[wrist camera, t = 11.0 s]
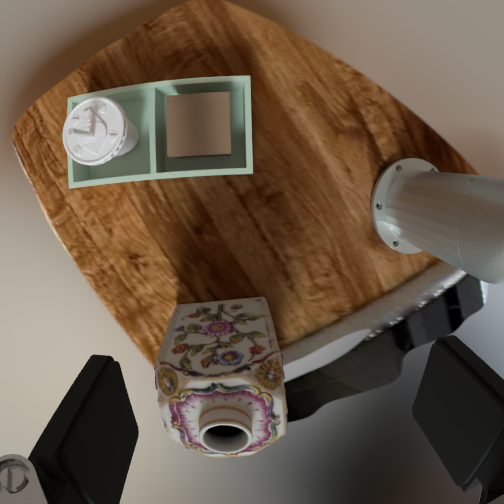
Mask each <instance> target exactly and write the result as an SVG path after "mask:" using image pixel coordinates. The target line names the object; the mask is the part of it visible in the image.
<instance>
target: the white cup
mask: <svg viewBox="0 0 504 504" xmlns="http://www.w3.org/2000/svg"><path fill="white" fill-rule="evenodd" d="M139 139H140V134H139V131H138V129H137V128H136V126H135V125H134V124H133V123H132V122H131V121H130V120H129V119H128V118H127V117H126V115H125V112H124V110H123V109H122V107H121V106H120V105H119V104H118V103H117V102H115V101H114V100H112V99H109V98H106V97H102V96H94V97H90V98H87V99H85V100H83V101H81V102H80V103H78V104H77V105H76V106H75V107H74V108H73V109H72V110H71V112H70V113H69V115H68V116H67V118H66V121H65V124H64V127H63V143H64V147H65V149H66V151H67V153H68V155H69V156H70V157H71V158H72V159H73V160H75V161H76V162H78V163H80V164H84V165H99V164H103V163H105V162H107V161H109V160H110V159H112V158H113V157H116V156H119V155H123V154H126V153H129V152H131V151H133V150H134V149H135V148H136V147H137V145H138V143H139Z"/></svg>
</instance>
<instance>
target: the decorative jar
mask: <svg viewBox="0 0 504 504" xmlns="http://www.w3.org/2000/svg"><path fill="white" fill-rule="evenodd" d="M282 361H283V355H282V354H281V353H280V349H279V345H278V341H277V337H276V332H275V329H274V324H273V321H272V317H271V313H270V310H269V307H268V303H267V300H266V299H265V297H254V298H241V299H232V300H222V301H212V302H203V303H190V304H179V305H177V306H176V307H175V309H174V312H173V314H172V316H171V319H170V321H169V324H168V327H167V330H166V333H165V336H164V339H163V342H162V345H161V347H160V350H159V354H158V357H157V361H156V365H155V367H154V370H155V385H156V389H157V391H158V402H159V408H160V411H161V415H162V419H163V421H164V425H165V428H166V430H167V432H168V434H169V435H170V437H171V438H172V439H173V440H175V441H177V442H178V443H180V444H182V445H183V446H185V447H186V448H188V449H192V450H194V451H195V452H199V453H201V454H203V455H206V456H208V457H240V456H249V455H252V454H255V453H256V452H258V451H260V450H261V449H263V448H266V447H267V446H268V445H270V444H273V443H275V442H276V441H277V440H278V439H280V438H281V437H283V436H285V432H286V430H287V411H288V409H287V404H286V394H285V390H286V389H285V387H284V382H283V381H284V378H285V377H284V371H283V364H282Z"/></svg>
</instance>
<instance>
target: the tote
mask: <svg viewBox="0 0 504 504" xmlns="http://www.w3.org/2000/svg"><path fill="white" fill-rule="evenodd" d="M209 92H229V93H230V134H231V155H227V156H206V157H190V158H173V157H167V119H166V96H171V95H182V94H194V93H209ZM94 96H102V97H106V98H109V99H112V100H114V101H115V102H117V103H118V104H119V105H120V106H121V107H122V109H123V110H124V112H125V115H126V117H127V118H128V119H129V120H130V121H131V122H132V123H133V124H134V125H135V126H136V128H137V129H138V131H139V134H140V139H139V143H138V145H137V147H136V148H135V149H134V150H133V151H131V152H129V153H126V154H123V155H119V156H116V157H113V158H112V159H110V160H109V161H107V162H105V163H103V164H99V165H84V164H80V163H78V162H76V161H75V160H73V159H72V158H71V157H70V156H69V155H68V176H69V189H70V188H77V187H85V186H93V185H101V184H110V183H120V182H129V181H140V180H151V179H163V178H177V177H192V176H210V175H232V174H253V157H252V121H251V86H250V76H220V77H202V78H188V79H177V80H168V81H159V82H151V83H143V84H137V85H130V86H124V87H118V88H112V89H107V90H102V91H97V92H92V93H87V94H83V95H78V96H74V97H70V98H68V110H67V116H68V115H69V113H70V112H71V110H72V109H73V108H74V107H75V106H76V105H77V104H78V103H80V102H81V101H83V100H85V99H87V98H90V97H94Z"/></svg>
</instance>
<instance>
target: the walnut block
mask: <svg viewBox="0 0 504 504" xmlns="http://www.w3.org/2000/svg"><path fill="white" fill-rule="evenodd" d="M166 119H167V157H173V158H190V157H206V156H227V155H231V134H230V93H229V92H209V93H194V94H182V95H171V96H166Z"/></svg>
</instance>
